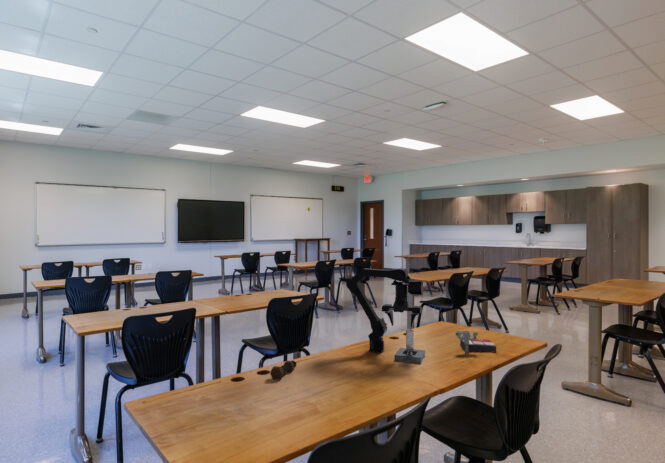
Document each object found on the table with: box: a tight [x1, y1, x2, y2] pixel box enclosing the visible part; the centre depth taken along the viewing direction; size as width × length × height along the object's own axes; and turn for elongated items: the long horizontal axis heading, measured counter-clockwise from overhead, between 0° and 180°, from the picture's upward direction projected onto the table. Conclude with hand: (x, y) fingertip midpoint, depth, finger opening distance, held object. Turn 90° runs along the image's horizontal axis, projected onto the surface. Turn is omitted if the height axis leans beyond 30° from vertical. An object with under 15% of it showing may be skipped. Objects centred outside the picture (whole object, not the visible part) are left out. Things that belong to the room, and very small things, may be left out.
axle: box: [405, 328, 415, 355], centre depth 184 cm, size 4×4×13 cm
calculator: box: [459, 338, 497, 353], centre depth 198 cm, size 11×4×15 cm
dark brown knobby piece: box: [269, 360, 297, 381], centre depth 166 cm, size 6×5×15 cm
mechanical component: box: [454, 330, 478, 354], centre depth 192 cm, size 3×10×10 cm, turn 89°
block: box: [393, 347, 426, 364], centre depth 184 cm, size 12×12×2 cm
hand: (401, 326), depth 192 cm, fingers open, 9 cm apart
